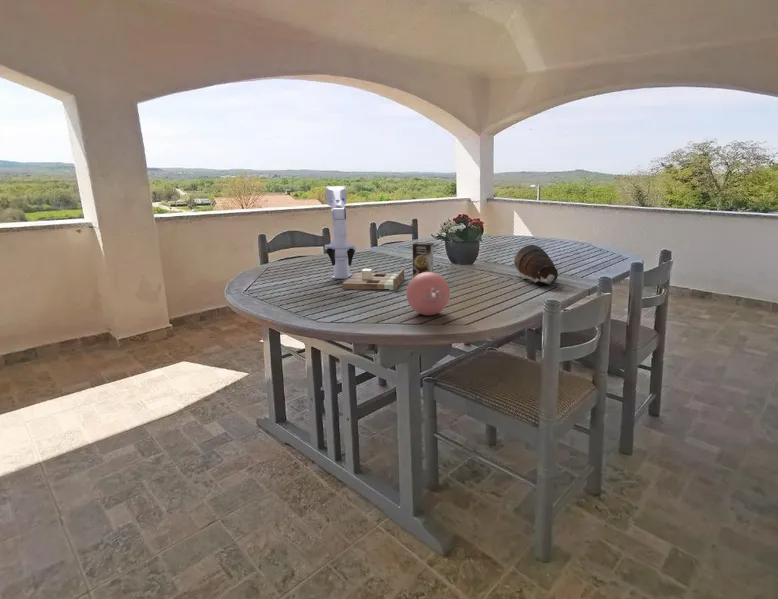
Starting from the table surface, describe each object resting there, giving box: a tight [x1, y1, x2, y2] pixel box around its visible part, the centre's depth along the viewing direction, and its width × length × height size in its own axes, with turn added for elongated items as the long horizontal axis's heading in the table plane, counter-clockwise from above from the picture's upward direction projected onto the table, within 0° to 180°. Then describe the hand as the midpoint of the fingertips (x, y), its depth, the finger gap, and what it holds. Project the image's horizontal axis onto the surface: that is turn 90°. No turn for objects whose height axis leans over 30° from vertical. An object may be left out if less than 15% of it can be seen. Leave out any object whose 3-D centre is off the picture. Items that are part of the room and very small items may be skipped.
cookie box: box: [412, 241, 435, 278], centre depth 220 cm, size 9×6×16 cm
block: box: [361, 268, 373, 279], centre depth 209 cm, size 4×4×4 cm
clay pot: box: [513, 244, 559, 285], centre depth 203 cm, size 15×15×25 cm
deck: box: [342, 268, 405, 291], centre depth 209 cm, size 21×24×5 cm
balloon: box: [406, 271, 451, 316], centre depth 159 cm, size 15×20×15 cm
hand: (341, 265), depth 205 cm, fingers open, 7 cm apart
